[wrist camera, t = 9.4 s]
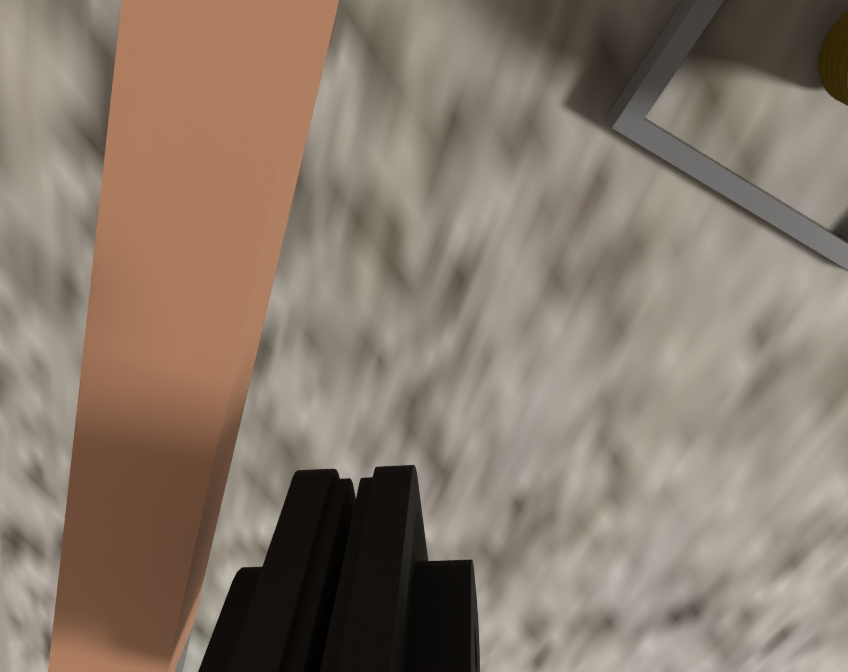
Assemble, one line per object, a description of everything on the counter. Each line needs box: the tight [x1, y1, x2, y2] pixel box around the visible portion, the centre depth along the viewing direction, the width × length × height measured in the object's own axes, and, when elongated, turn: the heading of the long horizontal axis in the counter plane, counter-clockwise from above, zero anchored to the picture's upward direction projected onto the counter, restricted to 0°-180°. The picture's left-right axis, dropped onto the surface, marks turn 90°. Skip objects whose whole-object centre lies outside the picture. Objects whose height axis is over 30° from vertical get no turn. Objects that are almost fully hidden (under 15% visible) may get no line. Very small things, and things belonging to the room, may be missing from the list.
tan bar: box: [48, 0, 339, 672], centre depth 8 cm, size 18×3×2 cm, turn 163°
